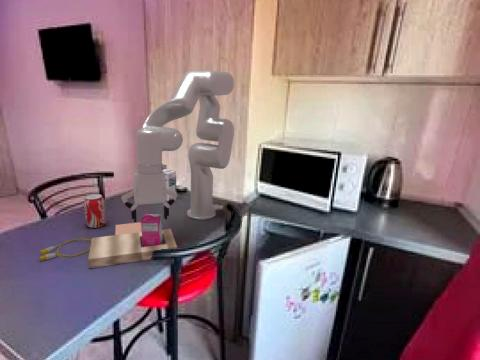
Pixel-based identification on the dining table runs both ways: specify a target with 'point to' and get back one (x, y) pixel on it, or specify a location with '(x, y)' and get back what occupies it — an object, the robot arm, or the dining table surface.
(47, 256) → the extension cord
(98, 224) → the soda can
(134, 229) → the mat
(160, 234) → the supplement box
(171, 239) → the wooden cutout board
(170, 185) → the syrup box
